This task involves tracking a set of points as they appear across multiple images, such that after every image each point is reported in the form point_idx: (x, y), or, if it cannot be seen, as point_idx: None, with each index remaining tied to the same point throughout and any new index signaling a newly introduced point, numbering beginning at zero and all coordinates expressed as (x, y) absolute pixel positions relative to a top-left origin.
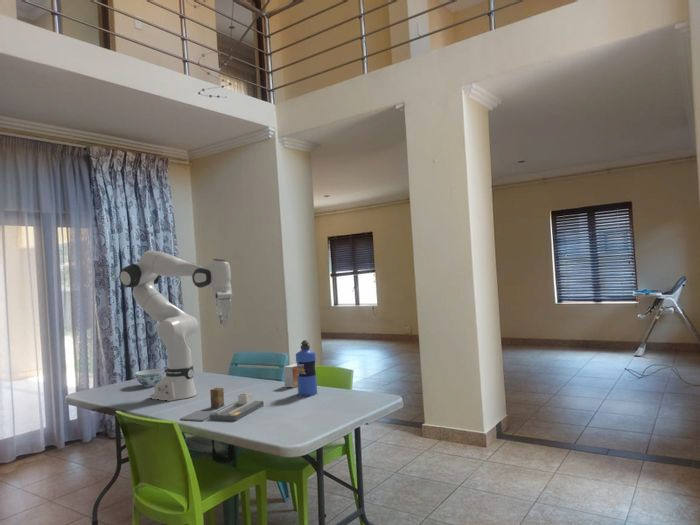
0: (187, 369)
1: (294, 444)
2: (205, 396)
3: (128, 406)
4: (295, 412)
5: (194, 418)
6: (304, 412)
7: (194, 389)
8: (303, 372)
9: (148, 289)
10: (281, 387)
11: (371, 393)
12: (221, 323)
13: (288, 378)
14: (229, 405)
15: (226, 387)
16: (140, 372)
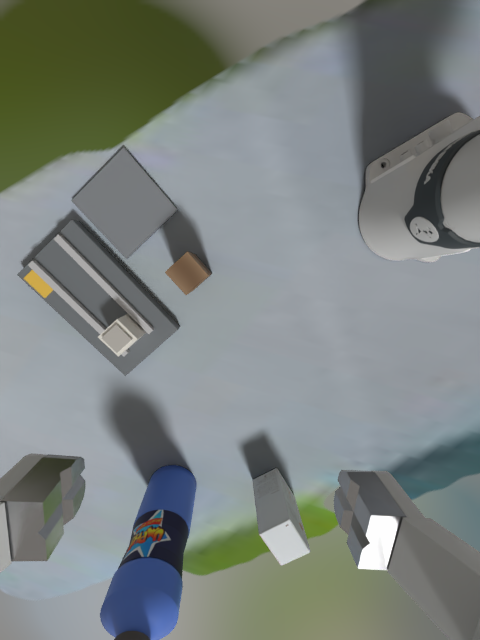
0: (432, 212)
1: None
2: (341, 274)
3: (404, 30)
4: (25, 409)
5: (99, 184)
6: (13, 424)
7: (388, 249)
8: (136, 530)
9: None
10: (283, 461)
11: (84, 580)
12: (342, 489)
13: (267, 493)
14: (137, 291)
15: (402, 350)
16: None
